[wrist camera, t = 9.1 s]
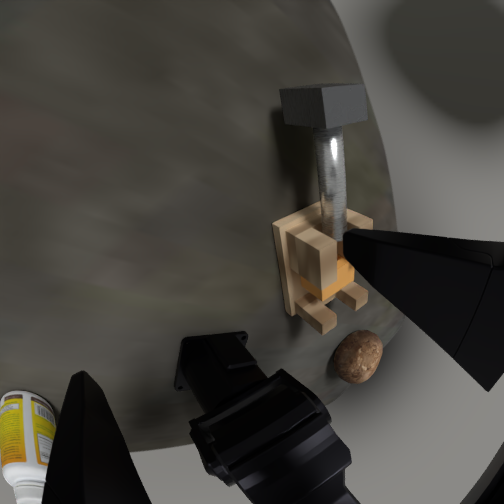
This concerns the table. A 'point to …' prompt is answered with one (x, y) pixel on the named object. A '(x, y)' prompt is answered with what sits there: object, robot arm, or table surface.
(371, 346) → the mushroom
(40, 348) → the table surface
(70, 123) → the table surface
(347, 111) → the shaft
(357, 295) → the bearing block
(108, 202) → the table surface
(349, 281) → the block
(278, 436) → the robot arm
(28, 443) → the supplement bottle
